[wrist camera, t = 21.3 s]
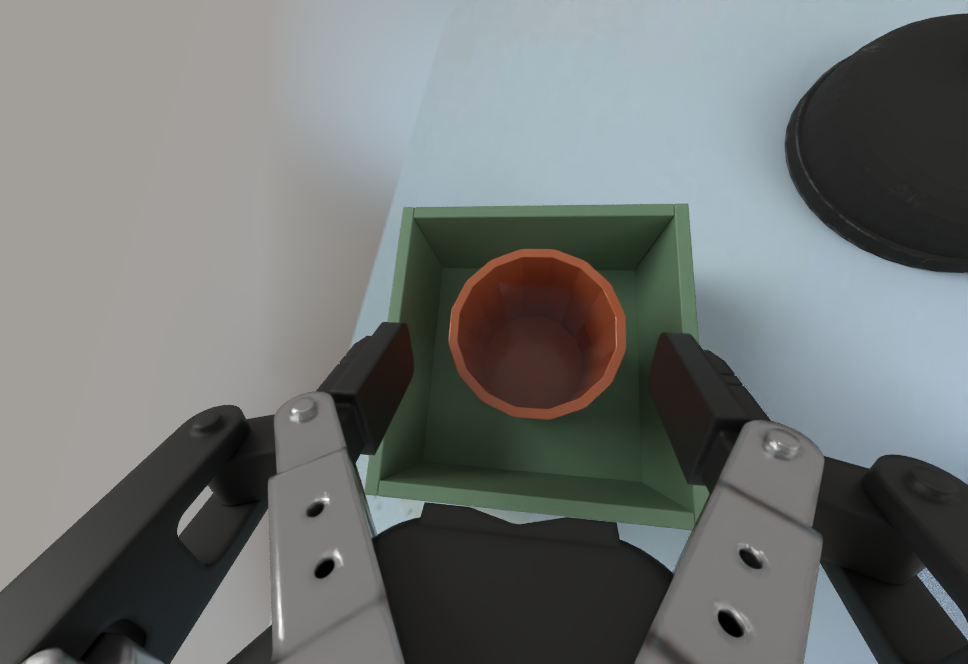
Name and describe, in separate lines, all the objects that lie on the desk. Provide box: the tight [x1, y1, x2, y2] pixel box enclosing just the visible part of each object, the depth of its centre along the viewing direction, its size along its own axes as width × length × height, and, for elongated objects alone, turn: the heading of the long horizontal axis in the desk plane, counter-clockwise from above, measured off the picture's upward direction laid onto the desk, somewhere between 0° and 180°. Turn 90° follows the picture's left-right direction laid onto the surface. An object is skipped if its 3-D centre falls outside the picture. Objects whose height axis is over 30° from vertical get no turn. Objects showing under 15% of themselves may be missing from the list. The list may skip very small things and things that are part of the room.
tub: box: [364, 204, 709, 530], centre depth 18 cm, size 13×13×7 cm
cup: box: [448, 249, 626, 420], centre depth 16 cm, size 6×6×8 cm
